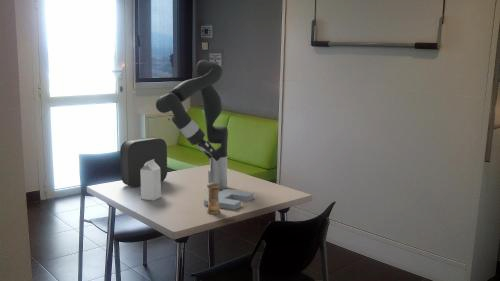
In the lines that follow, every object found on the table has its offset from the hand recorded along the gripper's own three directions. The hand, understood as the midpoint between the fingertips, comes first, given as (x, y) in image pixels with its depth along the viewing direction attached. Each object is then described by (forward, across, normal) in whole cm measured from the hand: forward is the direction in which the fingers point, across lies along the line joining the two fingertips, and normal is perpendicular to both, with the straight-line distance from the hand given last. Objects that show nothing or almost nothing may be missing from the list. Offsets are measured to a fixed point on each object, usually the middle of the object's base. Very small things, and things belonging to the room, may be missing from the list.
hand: (214, 158), depth 213 cm
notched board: (+26, +13, +6) cm, 30 cm away
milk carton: (+4, +34, +31) cm, 46 cm away
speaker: (+5, +62, +27) cm, 68 cm away
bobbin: (+19, +1, +16) cm, 25 cm away
